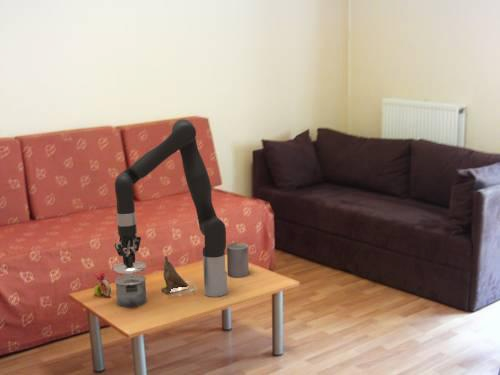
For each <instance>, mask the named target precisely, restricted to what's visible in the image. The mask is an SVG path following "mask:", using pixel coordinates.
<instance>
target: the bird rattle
mask: <svg viewBox="0 0 500 375" xmlns="http://www.w3.org/2000/svg"><path fill="white" fill-rule="evenodd" d="M105 276H106V274H105V270H103V271H101V273H100V275H97V274H94V277H96V279H97V281H99V282H98V283H99V284H98V285H95V286H94V291H93V295H96V296H97V297H100V296H101V294H103V295H105V296H106V298H109V297H111V292H112V288H111V285H110V283H109V282H108V280H107V279H106V278H105Z"/></svg>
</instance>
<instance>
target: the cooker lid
mask: <svg viewBox="0 0 500 375" xmlns="http://www.w3.org/2000/svg"><path fill="white" fill-rule="evenodd" d="M128 257H129V265H124V263H123V261H122V262H121V261H120V262H118V263H116V264H114V265H113V272H115V273H117V274H122V275H127V274H138V273H140V272H143V271H145V270H146V269H147V265H146V262H144V261H140V260H135V263H133V255H131V254H130V253H128Z"/></svg>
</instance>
